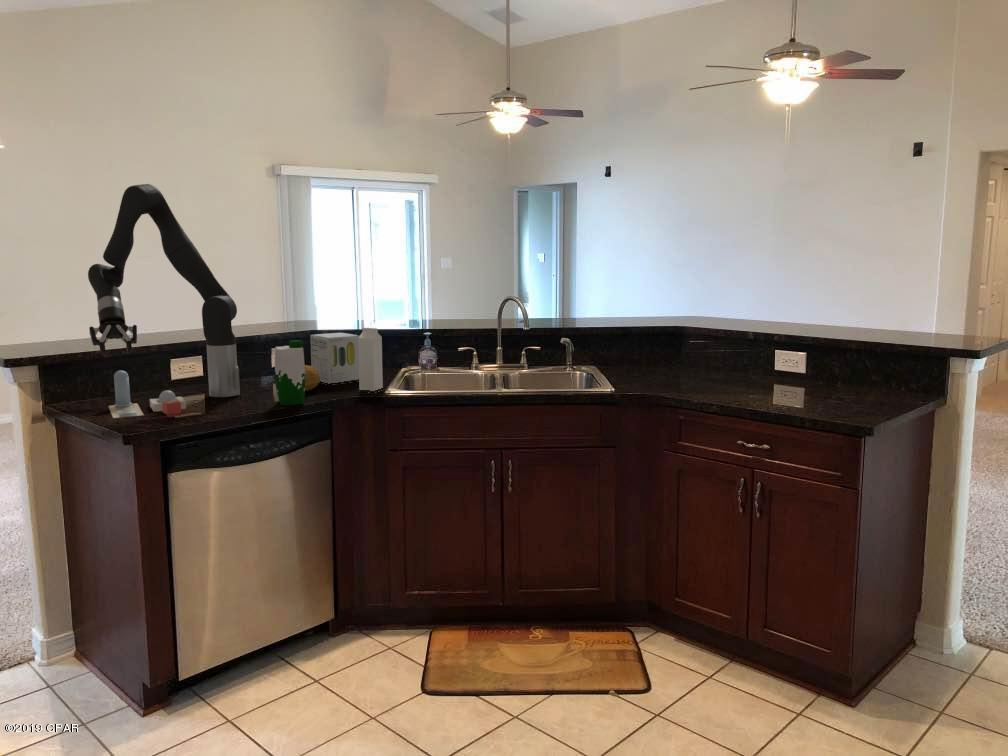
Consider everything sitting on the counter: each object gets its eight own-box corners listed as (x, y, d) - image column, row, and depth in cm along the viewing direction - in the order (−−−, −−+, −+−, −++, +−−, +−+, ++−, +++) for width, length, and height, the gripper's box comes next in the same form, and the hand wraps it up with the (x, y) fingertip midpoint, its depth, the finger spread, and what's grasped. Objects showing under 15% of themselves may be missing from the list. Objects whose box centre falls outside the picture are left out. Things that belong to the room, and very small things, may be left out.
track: (137, 405, 237) (137, 403, 237) (144, 417, 220) (144, 415, 220) (108, 408, 233) (108, 405, 233) (113, 420, 216) (113, 417, 216)
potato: (278, 392, 261) (277, 365, 259) (309, 387, 271) (308, 361, 270) (295, 396, 255) (294, 368, 254) (327, 390, 266) (326, 364, 264)
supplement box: (328, 385, 276) (327, 337, 273) (311, 380, 286) (309, 334, 283) (360, 381, 285) (359, 335, 282) (342, 377, 295) (341, 332, 292)
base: (181, 406, 238) (181, 396, 237) (186, 411, 230) (185, 401, 229) (150, 408, 233) (149, 399, 233) (153, 414, 225) (153, 404, 225)
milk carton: (307, 404, 241) (304, 341, 238) (277, 406, 238) (274, 343, 235) (304, 399, 249) (301, 338, 246) (275, 401, 246) (272, 339, 243)
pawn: (131, 403, 236) (128, 368, 235) (132, 406, 232) (129, 370, 231) (114, 405, 234) (111, 370, 232) (115, 407, 230) (112, 372, 228)
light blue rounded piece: (175, 406, 235) (174, 388, 234) (178, 408, 231) (177, 391, 230) (158, 407, 232) (156, 389, 231) (160, 410, 228) (159, 392, 227)
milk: (374, 393, 262) (373, 329, 258) (359, 391, 264) (357, 328, 260) (383, 390, 267) (381, 327, 264) (367, 388, 269) (366, 326, 266)
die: (176, 413, 227) (176, 399, 226) (181, 415, 224) (180, 401, 223) (162, 414, 224) (162, 401, 224) (167, 417, 222) (166, 403, 221)
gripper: (85, 306, 242) (90, 347, 234) (135, 304, 249) (142, 344, 241) (86, 321, 247) (91, 362, 239) (135, 319, 255) (141, 359, 247)
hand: (116, 353), depth 240 cm, fingers open, 6 cm apart
